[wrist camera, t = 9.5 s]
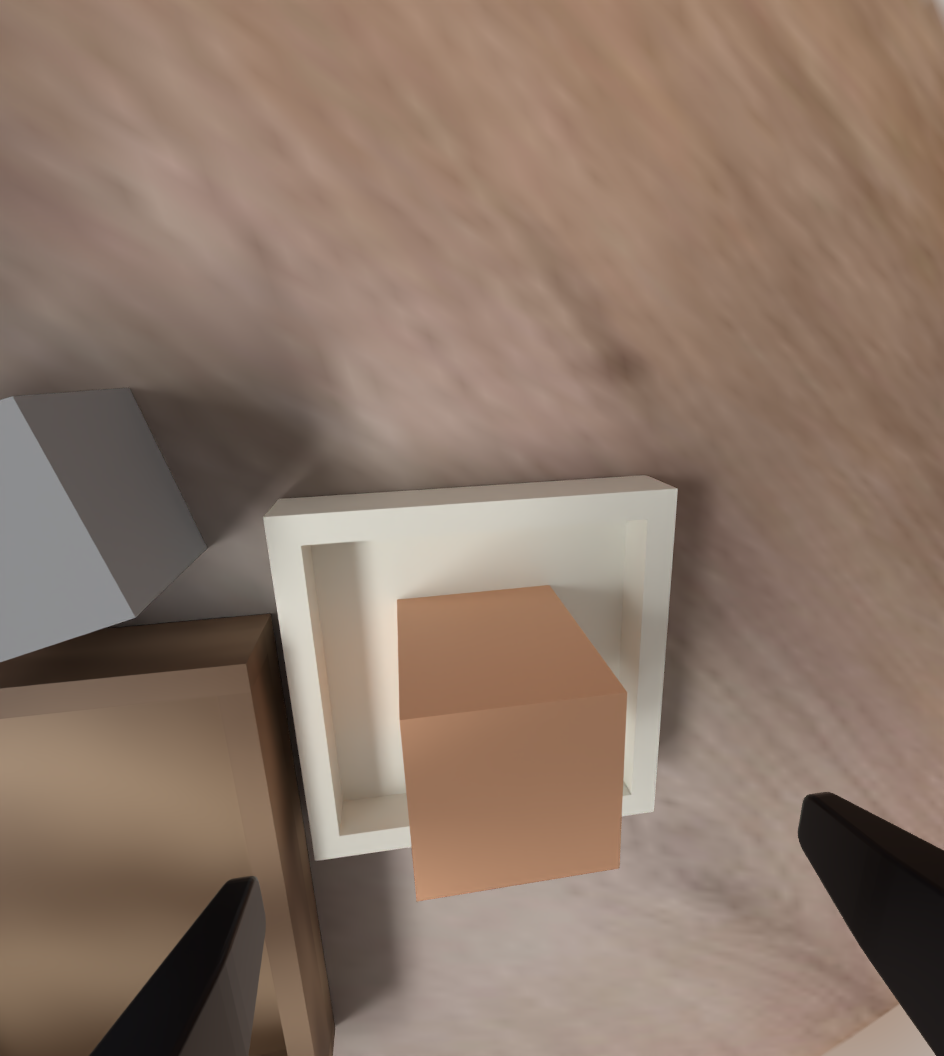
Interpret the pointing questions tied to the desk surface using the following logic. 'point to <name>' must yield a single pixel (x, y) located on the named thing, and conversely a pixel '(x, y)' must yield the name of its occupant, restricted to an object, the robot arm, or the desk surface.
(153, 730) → the walnut box
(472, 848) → the terracotta block
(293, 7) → the desk surface
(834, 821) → the robot arm
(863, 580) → the desk surface
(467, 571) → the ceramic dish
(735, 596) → the desk surface
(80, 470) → the slate rubber block
